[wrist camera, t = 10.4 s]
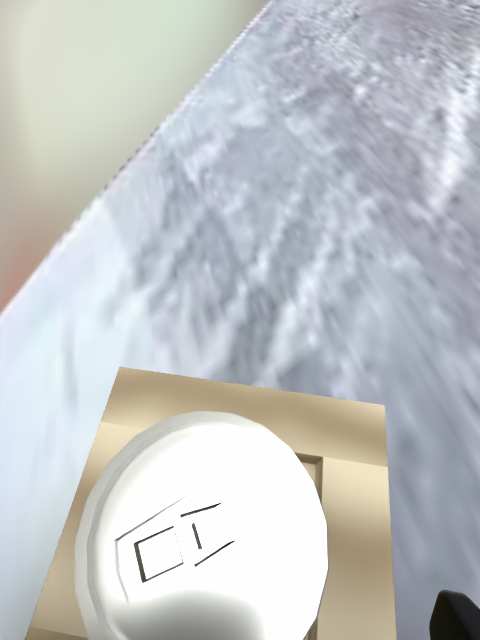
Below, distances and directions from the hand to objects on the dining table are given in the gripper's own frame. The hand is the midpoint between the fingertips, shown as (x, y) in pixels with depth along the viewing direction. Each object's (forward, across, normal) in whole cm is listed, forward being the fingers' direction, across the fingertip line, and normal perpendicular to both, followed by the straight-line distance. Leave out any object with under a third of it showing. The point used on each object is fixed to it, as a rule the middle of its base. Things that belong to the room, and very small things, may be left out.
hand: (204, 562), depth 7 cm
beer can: (+9, 0, +8) cm, 12 cm away
